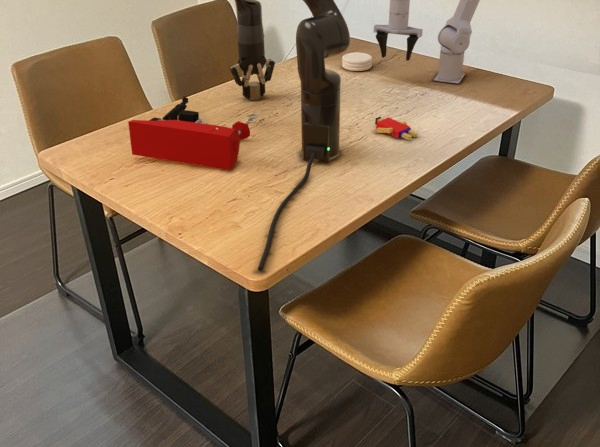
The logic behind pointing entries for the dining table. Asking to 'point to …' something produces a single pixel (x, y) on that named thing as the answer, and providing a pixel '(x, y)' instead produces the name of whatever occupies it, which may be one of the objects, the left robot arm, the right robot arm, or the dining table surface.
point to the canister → (254, 90)
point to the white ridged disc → (357, 61)
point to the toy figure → (394, 128)
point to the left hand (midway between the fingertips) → (254, 96)
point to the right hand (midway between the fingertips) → (395, 58)
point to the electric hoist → (188, 139)
